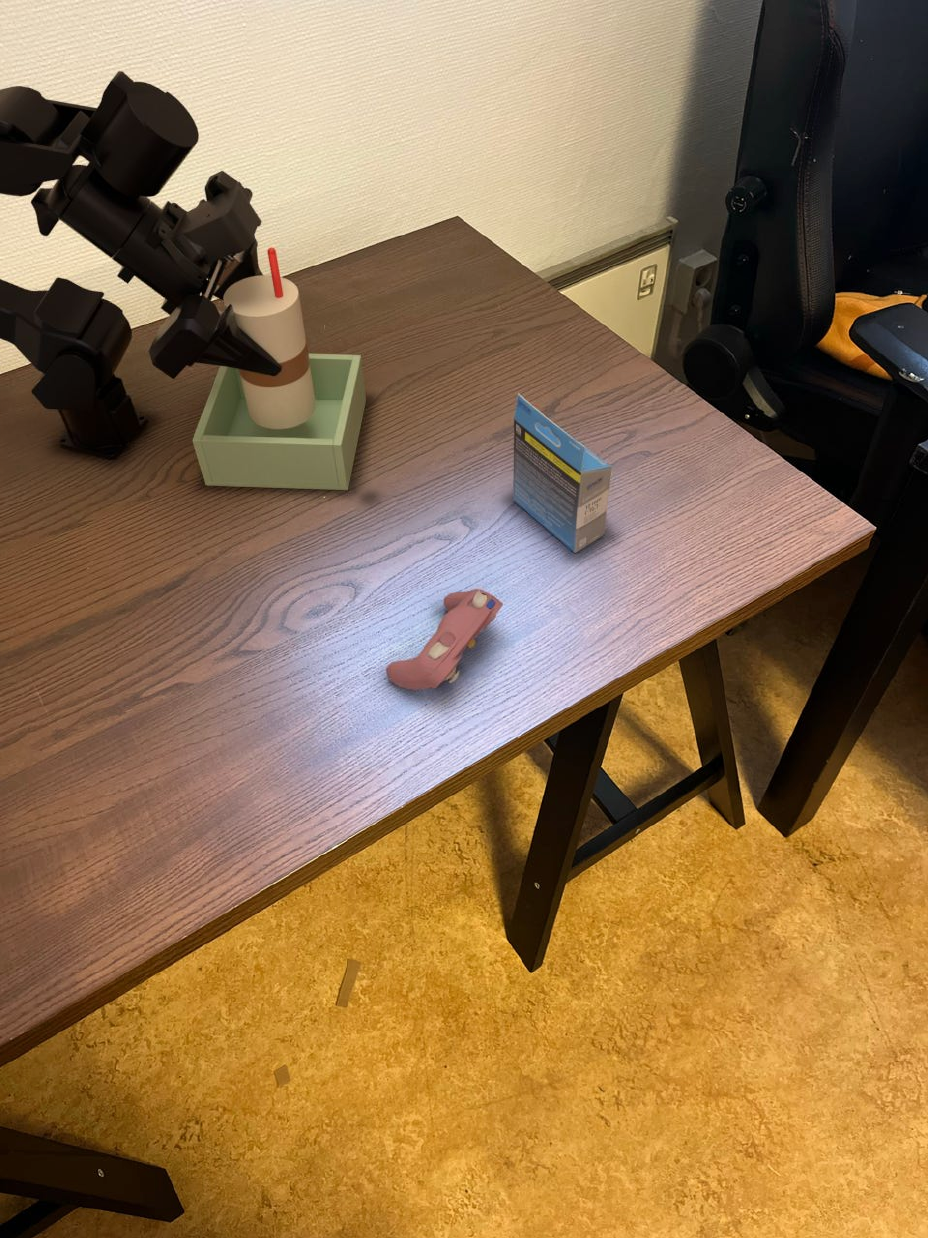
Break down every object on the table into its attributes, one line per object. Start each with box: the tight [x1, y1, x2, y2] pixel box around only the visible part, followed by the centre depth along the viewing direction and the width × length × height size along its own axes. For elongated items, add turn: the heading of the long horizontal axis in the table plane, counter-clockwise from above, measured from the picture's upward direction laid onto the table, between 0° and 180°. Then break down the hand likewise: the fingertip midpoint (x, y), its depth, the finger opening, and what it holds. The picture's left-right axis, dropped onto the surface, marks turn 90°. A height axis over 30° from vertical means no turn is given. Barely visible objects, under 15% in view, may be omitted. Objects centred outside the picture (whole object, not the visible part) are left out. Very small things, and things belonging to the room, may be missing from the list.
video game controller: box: [386, 588, 504, 691], centre depth 74 cm, size 10×5×7 cm, turn 148°
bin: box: [192, 353, 367, 491], centre depth 91 cm, size 14×14×6 cm
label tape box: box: [512, 392, 612, 554], centre depth 81 cm, size 9×4×12 cm, turn 37°
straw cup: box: [222, 247, 316, 429], centre depth 84 cm, size 6×6×16 cm
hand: (285, 349), depth 85 cm, fingers closed on straw cup, 6 cm apart
